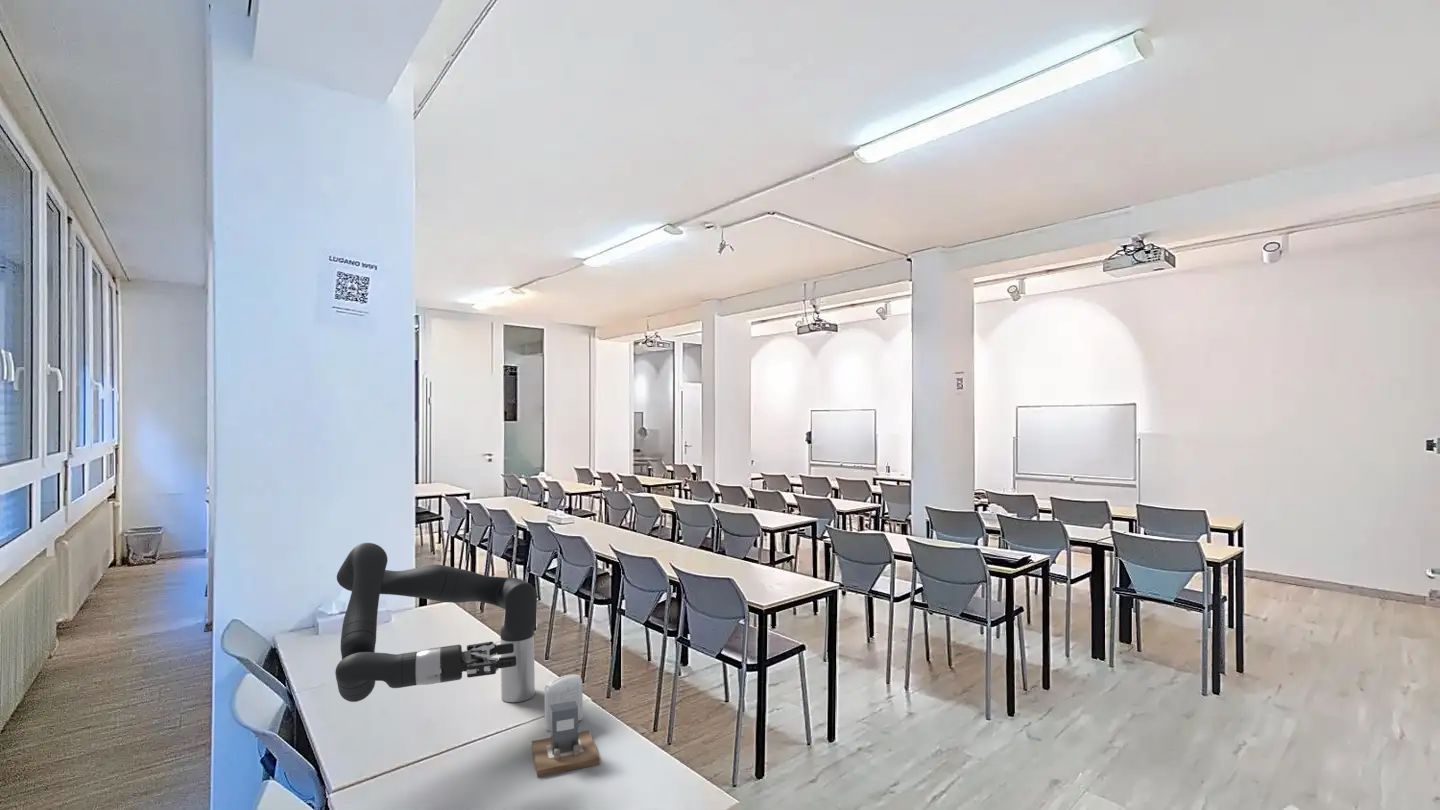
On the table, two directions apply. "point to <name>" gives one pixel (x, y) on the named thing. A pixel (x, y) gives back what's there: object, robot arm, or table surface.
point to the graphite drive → (564, 726)
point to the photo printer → (563, 694)
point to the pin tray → (564, 755)
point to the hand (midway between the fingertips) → (514, 653)
